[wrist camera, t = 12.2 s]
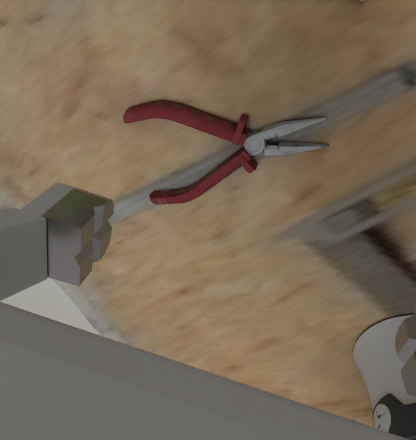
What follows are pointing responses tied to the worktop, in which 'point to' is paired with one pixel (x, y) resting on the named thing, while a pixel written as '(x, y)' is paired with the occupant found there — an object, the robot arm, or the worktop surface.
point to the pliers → (225, 130)
